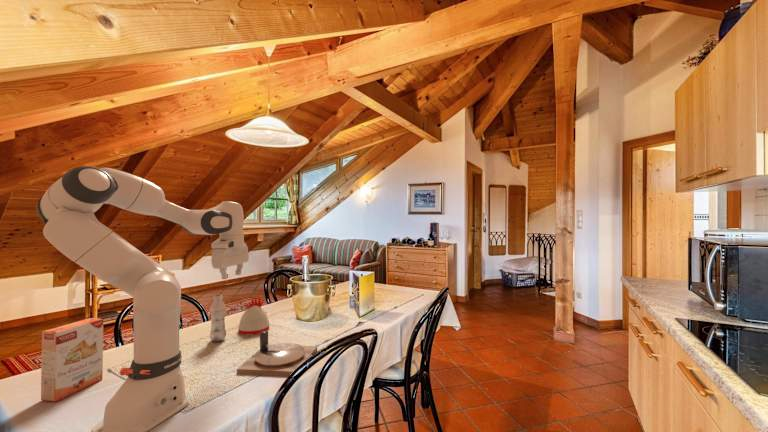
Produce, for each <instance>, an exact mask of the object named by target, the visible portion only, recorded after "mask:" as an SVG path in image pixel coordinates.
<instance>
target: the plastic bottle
mask: <svg viewBox="0 0 768 432" xmlns="http://www.w3.org/2000/svg"><path fill="white" fill-rule="evenodd" d="M223 299H224V298H223V294H214V295H213V298H212V300H213V302H212V303H211V304H210V307H209V311H210V320H211V324H210V333H209V339H210V341H212V342H215V343H216V342H221V341H224V340H225V339H226V337H227V331H226V323H225V322H226V321H225V318H226V309H227V306H226V304H225V302H224V301H223Z"/></svg>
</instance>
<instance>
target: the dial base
mask: <svg viewBox="0 0 768 432" xmlns="http://www.w3.org/2000/svg"><path fill="white" fill-rule="evenodd" d="M270 345H271V344H268V346H270ZM302 346H303V347H304V349H305V354H304V356H303V358H302V359H300V360H299V361H297V362H295V363H292V364H289V365H285V366H279V367H265V366H261V365H258V364H257V363H256V362H255V354H256V352H255V353H254V354H252V355H251V357H250V358H247V360H246V361H245V362H244V363H242V364H241V365H240V366H239V367H238V368H237V369H236V374H243V375H261V376H262V375H264V376H285V377H287V376H288V377H290V376H289V375H290V374H291V373H292V372H293V371H294V370H295V369H296V368H297V367H298V366H299V365H301V364H302V363H303V362H304V361H305V360H307V359H308V358H309V357H310V356H311V355H313V354H314V353H317V351H318V346H316V345H302ZM314 355H315V354H314ZM314 355H313V356H314Z"/></svg>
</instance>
